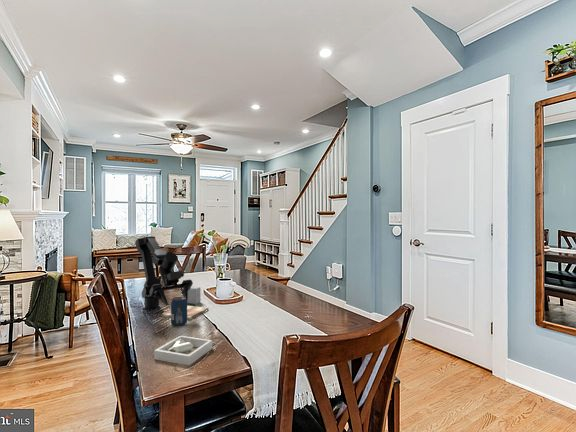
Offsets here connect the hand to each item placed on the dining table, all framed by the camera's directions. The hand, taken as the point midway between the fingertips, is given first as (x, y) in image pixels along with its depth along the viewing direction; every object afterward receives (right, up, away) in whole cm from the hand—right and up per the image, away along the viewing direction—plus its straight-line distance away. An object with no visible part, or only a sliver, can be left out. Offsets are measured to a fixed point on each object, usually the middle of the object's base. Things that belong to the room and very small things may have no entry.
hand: (177, 302), depth 144 cm
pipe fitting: (+12, -10, -30) cm, 34 cm away
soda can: (+1, -10, -1) cm, 10 cm away
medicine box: (-3, -9, +34) cm, 35 cm away
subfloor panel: (-1, -9, +15) cm, 18 cm away
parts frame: (+13, -10, -31) cm, 35 cm away
